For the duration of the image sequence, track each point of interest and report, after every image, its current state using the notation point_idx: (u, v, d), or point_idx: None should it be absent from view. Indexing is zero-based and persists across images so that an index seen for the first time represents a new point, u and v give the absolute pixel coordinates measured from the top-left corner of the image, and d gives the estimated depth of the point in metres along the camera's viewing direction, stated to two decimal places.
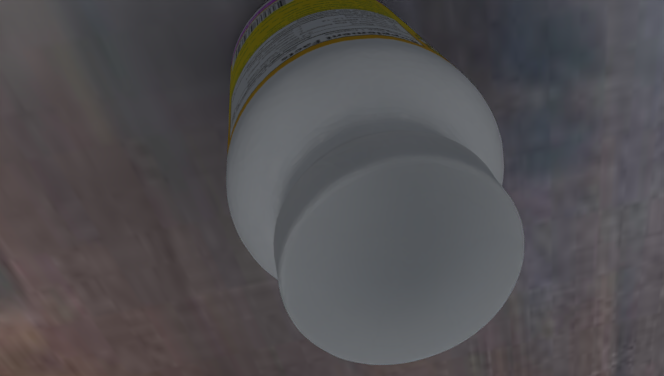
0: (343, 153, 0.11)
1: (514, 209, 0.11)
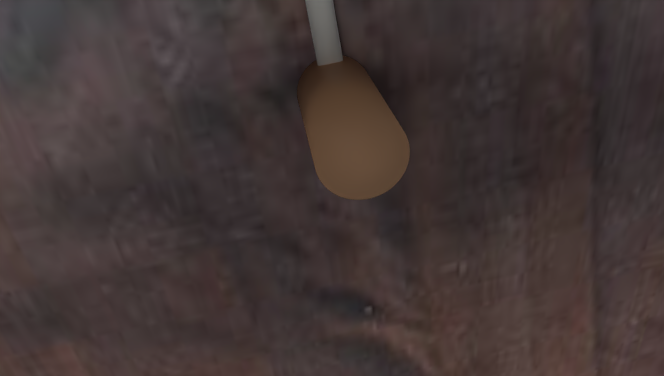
0: None
1: None
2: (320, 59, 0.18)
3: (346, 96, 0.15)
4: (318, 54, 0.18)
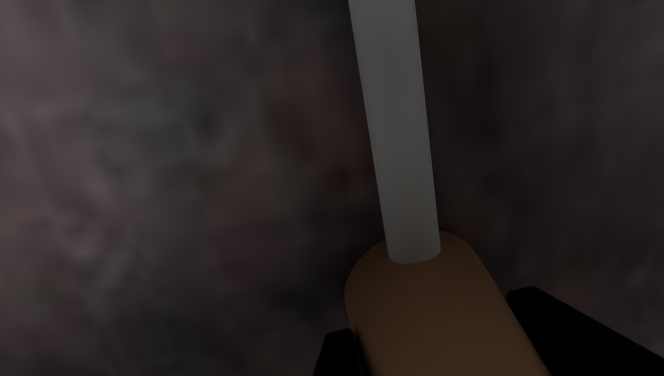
0: None
1: None
2: (397, 253, 0.09)
3: None
4: (393, 243, 0.09)
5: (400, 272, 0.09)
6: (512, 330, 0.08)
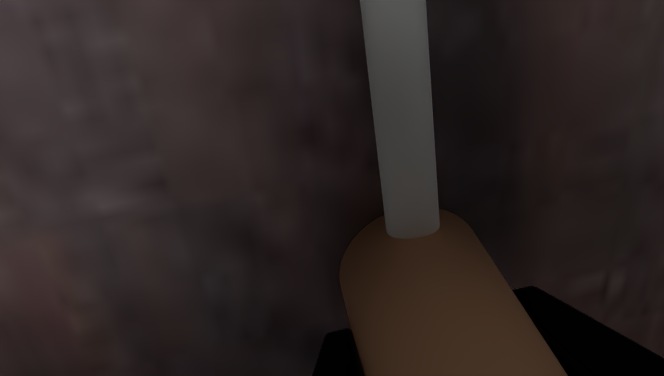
0: None
1: None
2: (396, 227, 0.09)
3: None
4: (392, 217, 0.09)
5: (398, 247, 0.08)
6: (512, 305, 0.07)
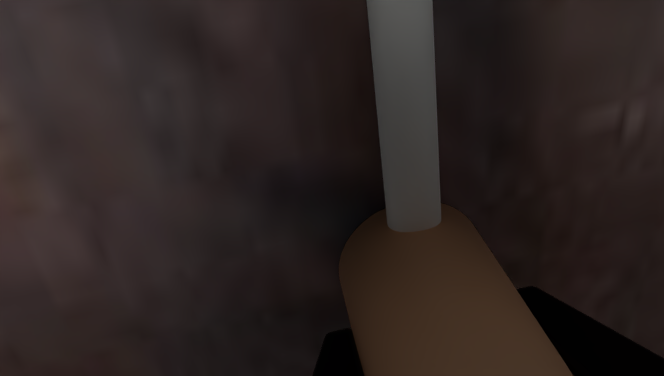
0: None
1: None
2: (397, 220, 0.08)
3: None
4: (394, 209, 0.08)
5: (399, 240, 0.08)
6: (514, 299, 0.07)
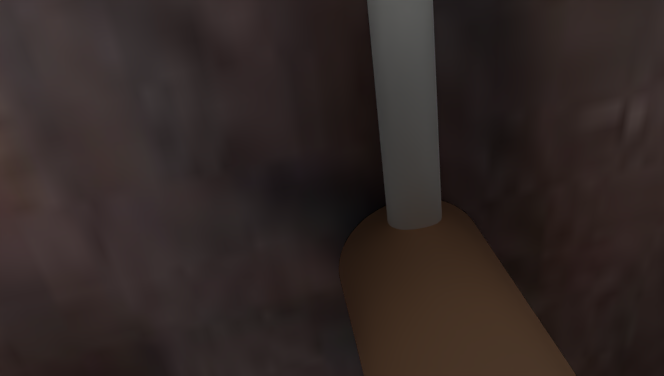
0: None
1: None
2: (398, 218, 0.08)
3: None
4: (394, 207, 0.08)
5: (400, 237, 0.08)
6: (515, 296, 0.07)
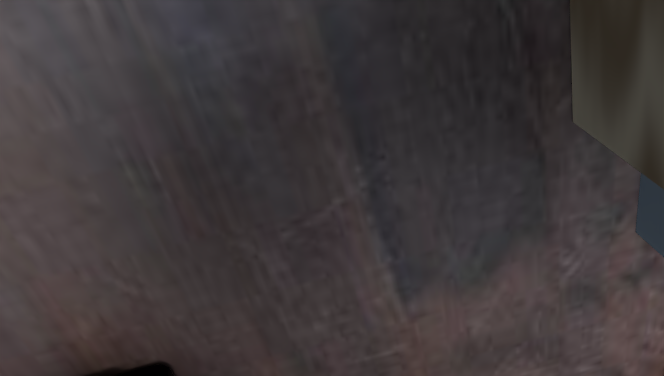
0: None
1: None
2: None
3: None
4: None
5: None
6: None
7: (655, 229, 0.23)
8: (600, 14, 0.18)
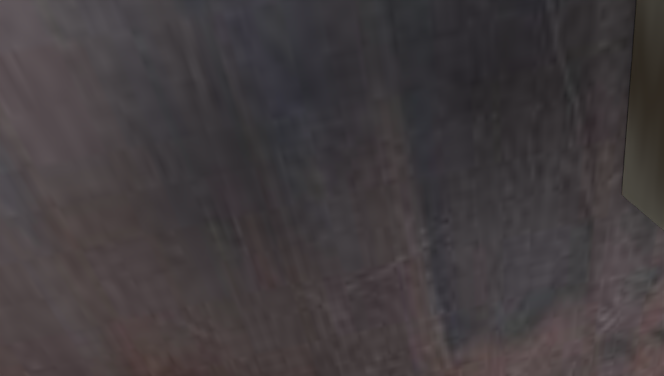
0: None
1: None
2: None
3: None
4: None
5: None
6: None
7: None
8: (663, 109, 0.20)
